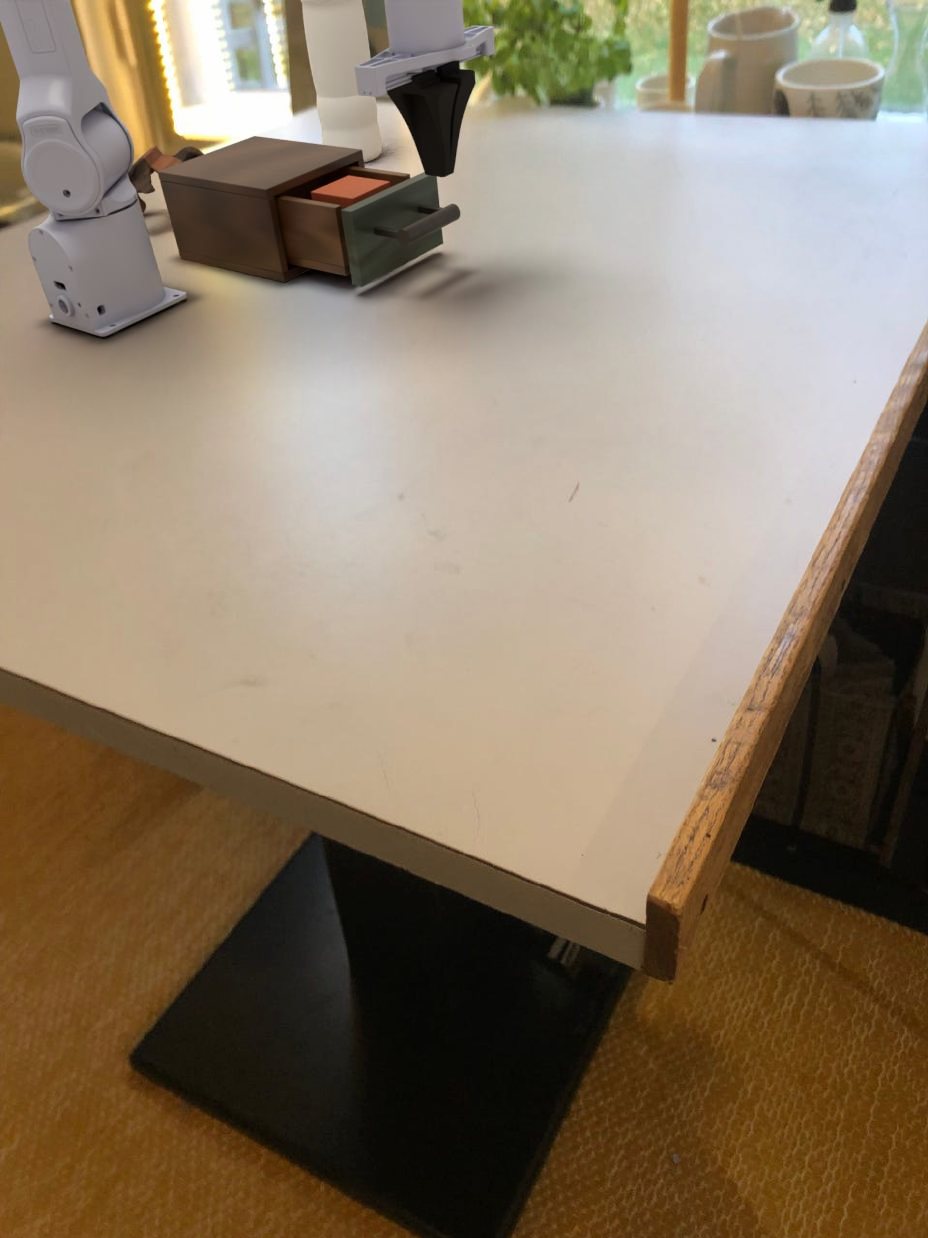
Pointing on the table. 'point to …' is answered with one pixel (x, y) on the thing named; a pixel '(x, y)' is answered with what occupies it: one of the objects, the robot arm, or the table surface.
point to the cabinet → (243, 201)
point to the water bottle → (341, 74)
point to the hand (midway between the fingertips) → (439, 173)
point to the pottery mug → (156, 168)
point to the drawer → (363, 225)
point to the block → (349, 190)
